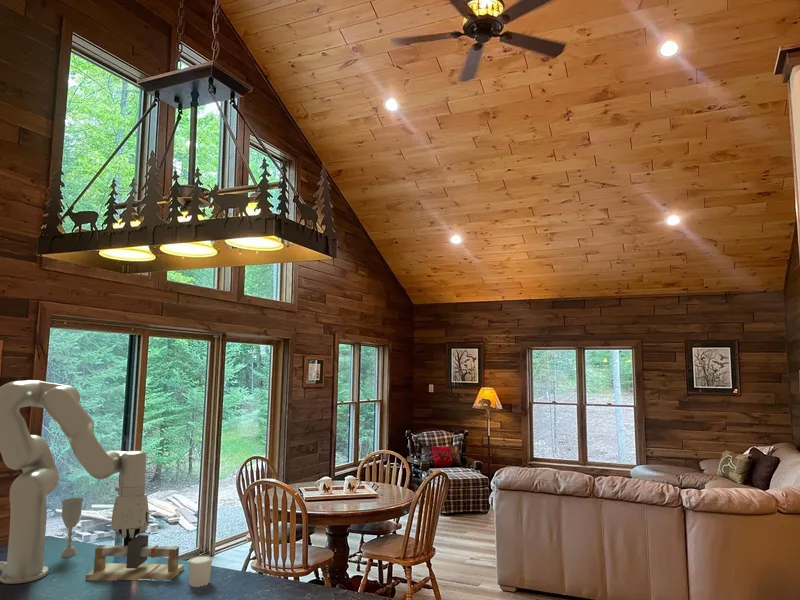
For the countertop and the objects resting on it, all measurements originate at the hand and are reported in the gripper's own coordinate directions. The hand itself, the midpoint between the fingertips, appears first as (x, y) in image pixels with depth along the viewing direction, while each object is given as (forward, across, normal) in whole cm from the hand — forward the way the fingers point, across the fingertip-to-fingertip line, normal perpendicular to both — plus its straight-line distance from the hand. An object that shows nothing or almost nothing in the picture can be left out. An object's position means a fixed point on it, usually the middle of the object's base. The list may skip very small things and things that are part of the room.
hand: (129, 549), depth 182 cm
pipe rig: (+6, +4, -3) cm, 8 cm away
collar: (+3, +4, -3) cm, 6 cm away
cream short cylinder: (+7, +26, -9) cm, 28 cm away
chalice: (+6, -27, +14) cm, 31 cm away
